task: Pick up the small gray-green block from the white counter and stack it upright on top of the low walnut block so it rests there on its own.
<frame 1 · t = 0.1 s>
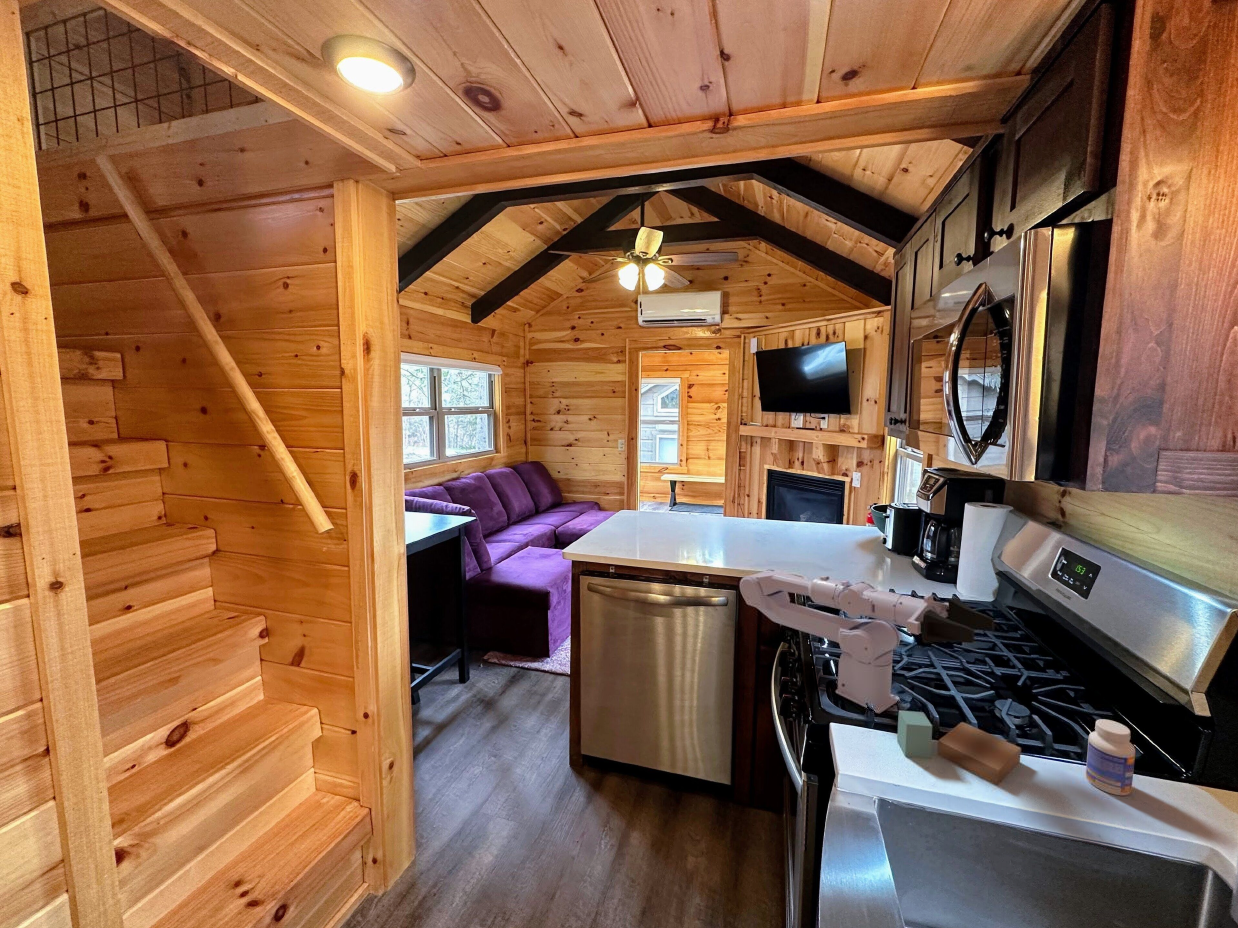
hand: (983, 630, 90), 22 cm above the countertop, tool horizontal, fingers open, 7 cm apart
gray-green block: (913, 749, 93), on the countertop
walnut block: (977, 760, 91), on the countertop
pill bottle: (1107, 784, 84), on the countertop
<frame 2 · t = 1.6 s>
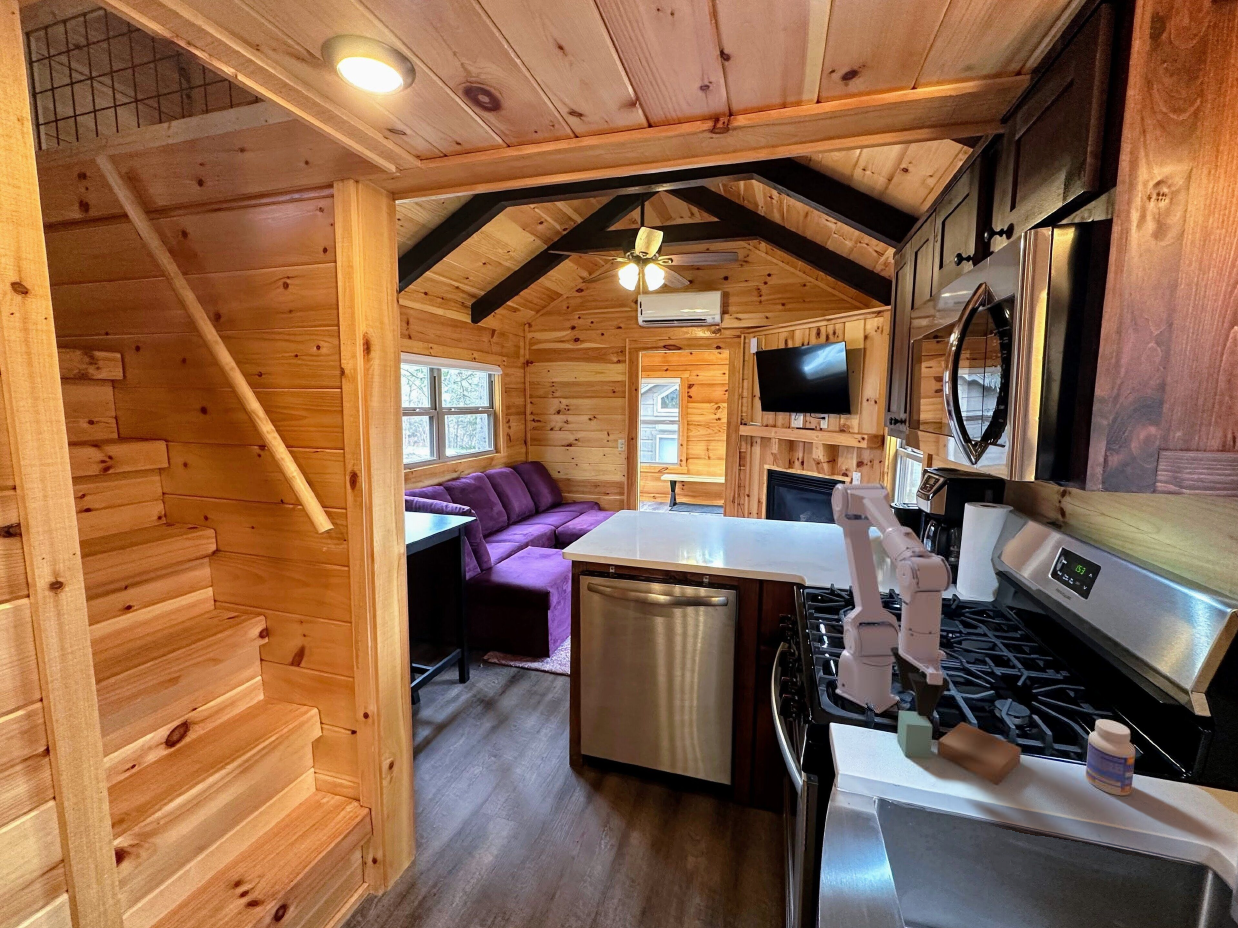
hand: (916, 701, 92), 9 cm above the countertop, tool pointing down, fingers open, 7 cm apart
nothing on the countertop moved.
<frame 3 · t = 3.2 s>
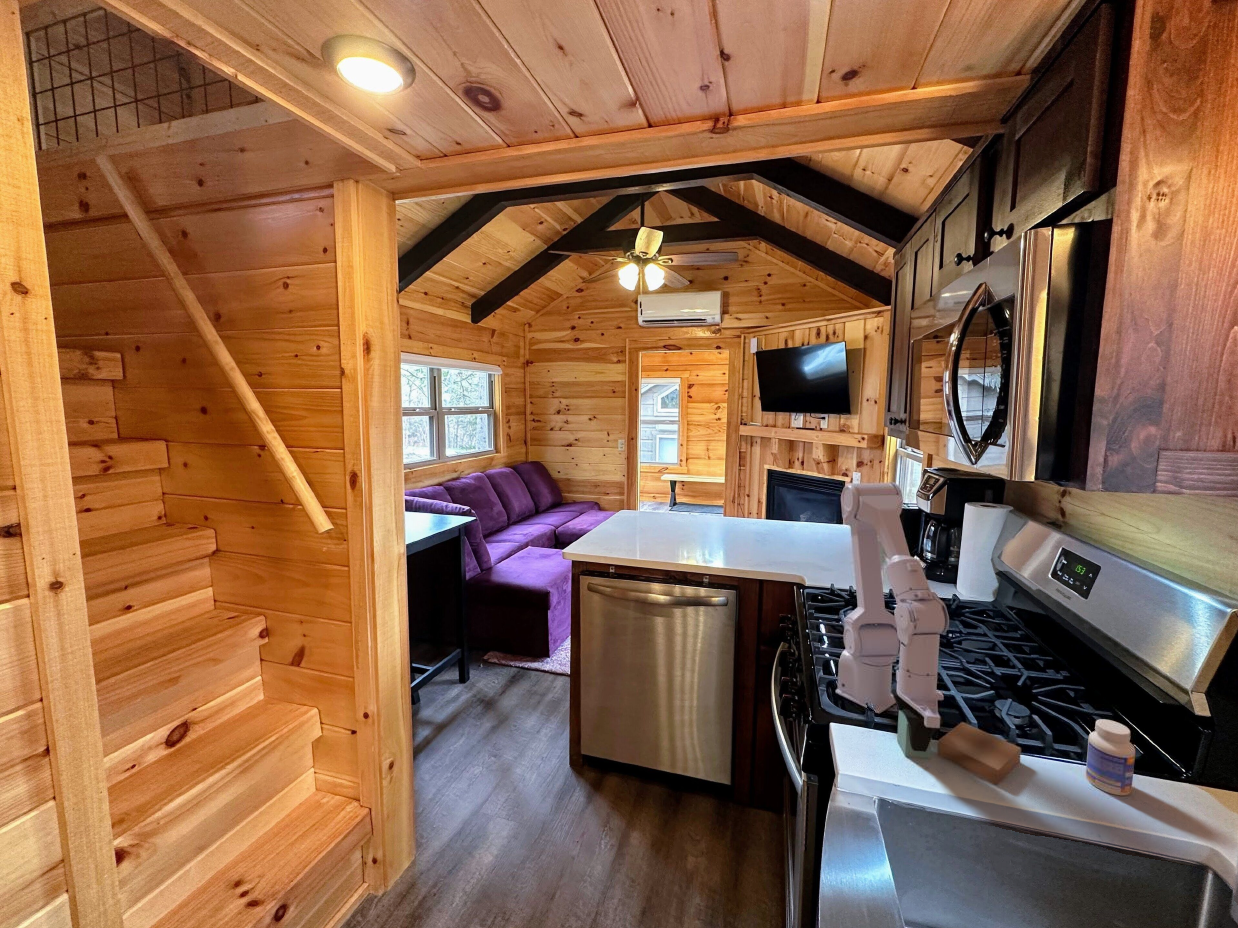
hand: (913, 741, 93), 2 cm above the countertop, tool pointing down, fingers closed on gray-green block, 4 cm apart
gray-green block: (913, 749, 93), on the countertop, touching gripper
everything else where it was.
when the fingers open (6 cm above the countertop, at t = 7.7 s): gray-green block drops 1 cm, resting on walnut block.
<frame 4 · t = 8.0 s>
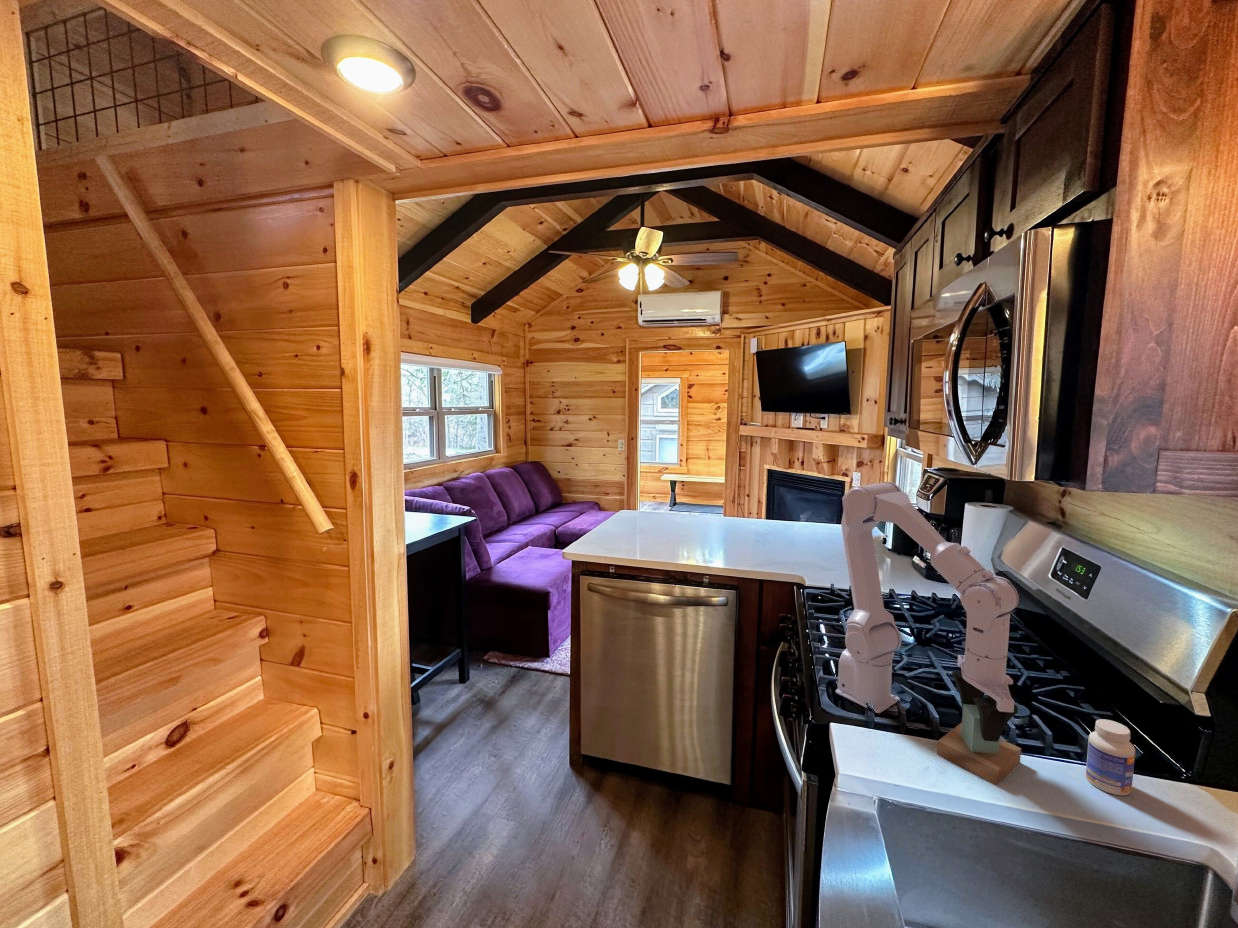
hand: (980, 727, 90), 6 cm above the countertop, tool pointing down, fingers open, 6 cm apart
gray-green block: (979, 744, 90), point 3 cm above the countertop, touching walnut block
walnut block: (977, 760, 91), on the countertop, touching gray-green block
everything else where it was.
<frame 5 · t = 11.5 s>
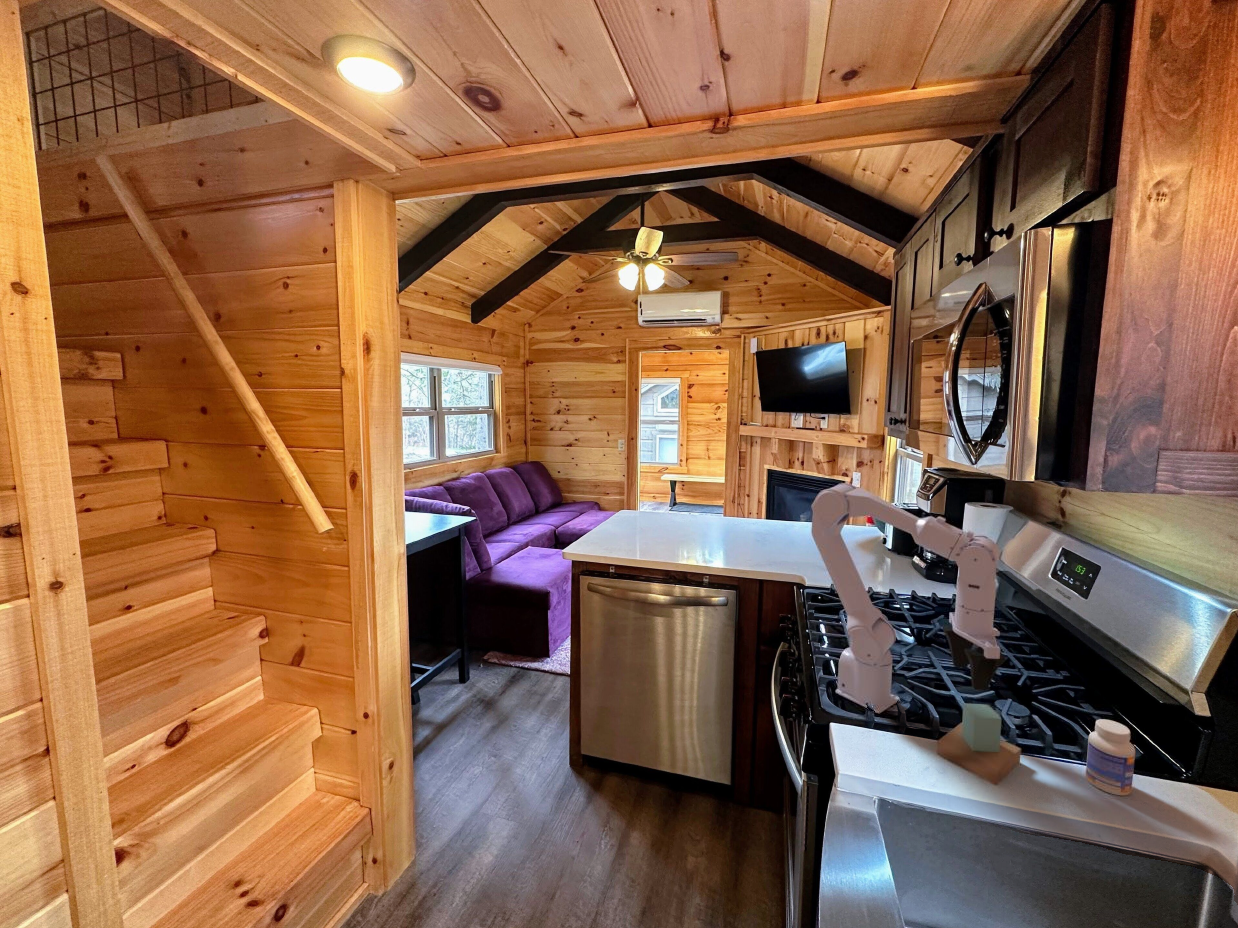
hand: (969, 677, 97), 10 cm above the countertop, tool pointing down, fingers open, 7 cm apart
nothing on the countertop moved.
at the end: gray-green block 0.3 cm off-centre on the walnut block, point 3.0 cm above the walnut block's base; gray-green block tilted 1°; the gripper is holding nothing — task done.
